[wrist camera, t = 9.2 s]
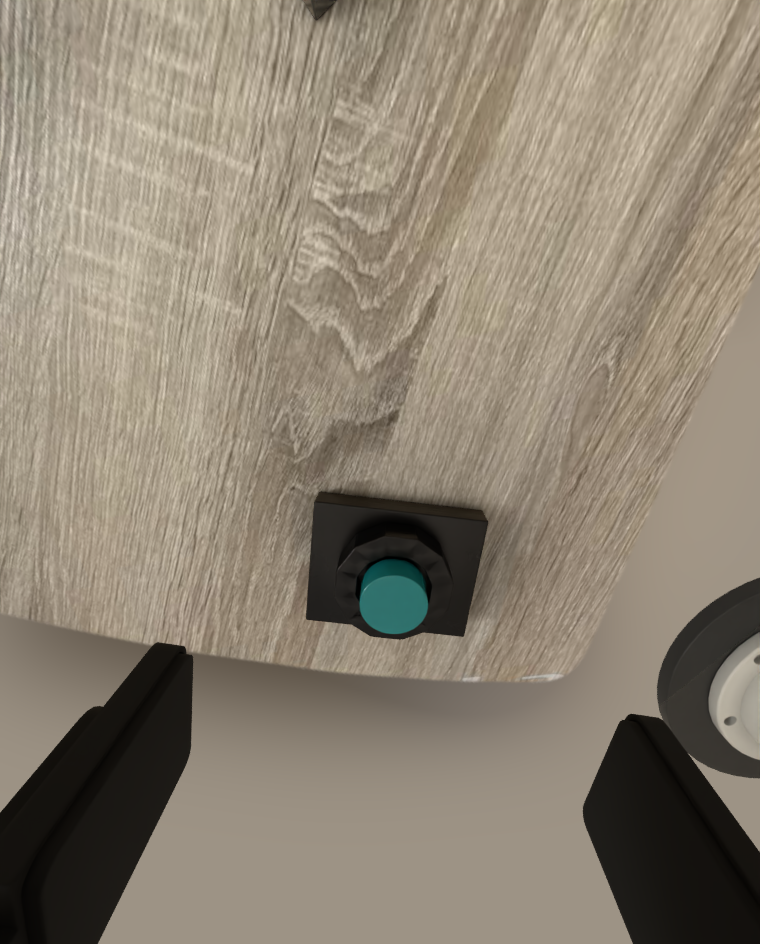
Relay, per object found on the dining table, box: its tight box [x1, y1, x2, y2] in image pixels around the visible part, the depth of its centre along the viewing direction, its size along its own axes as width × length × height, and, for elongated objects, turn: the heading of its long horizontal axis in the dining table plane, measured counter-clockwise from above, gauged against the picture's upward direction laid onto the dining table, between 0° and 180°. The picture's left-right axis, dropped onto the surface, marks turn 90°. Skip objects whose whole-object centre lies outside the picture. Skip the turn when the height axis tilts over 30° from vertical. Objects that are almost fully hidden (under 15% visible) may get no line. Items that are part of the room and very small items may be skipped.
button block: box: [306, 492, 488, 640], centre depth 24 cm, size 10×8×4 cm
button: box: [359, 559, 428, 634], centre depth 22 cm, size 4×4×2 cm
